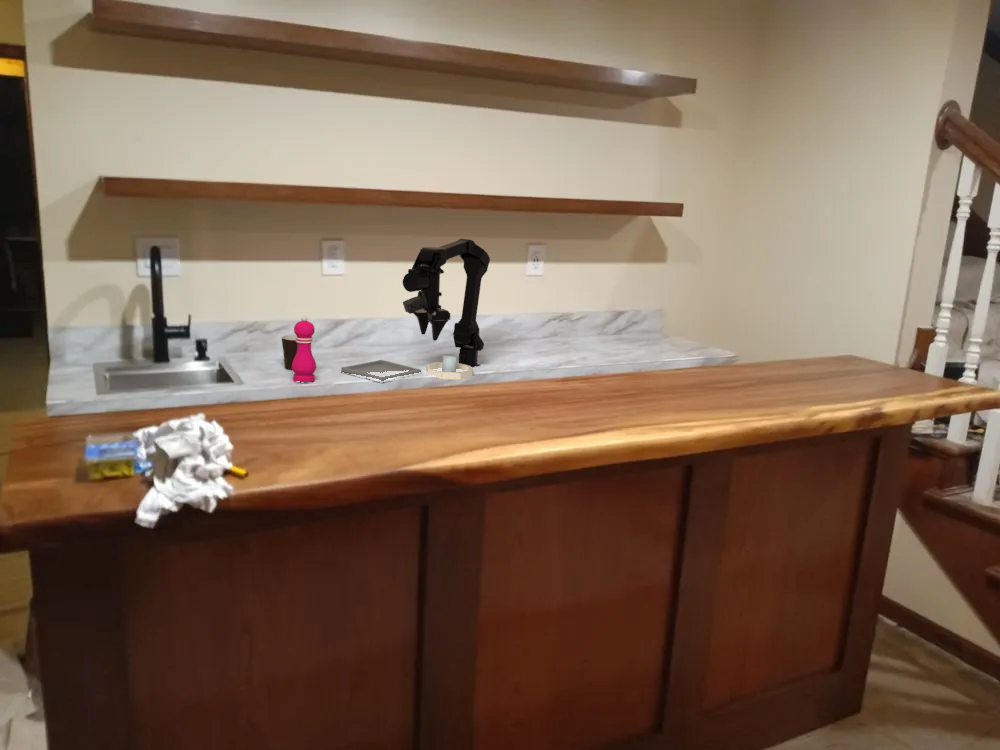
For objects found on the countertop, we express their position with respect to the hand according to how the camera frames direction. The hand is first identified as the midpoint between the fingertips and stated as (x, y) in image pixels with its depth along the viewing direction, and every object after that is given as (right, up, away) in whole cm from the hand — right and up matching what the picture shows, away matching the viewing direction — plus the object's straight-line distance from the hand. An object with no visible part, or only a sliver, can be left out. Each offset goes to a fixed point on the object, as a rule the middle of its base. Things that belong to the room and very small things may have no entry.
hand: (428, 337), depth 252 cm
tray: (-16, -11, +4) cm, 20 cm away
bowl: (+6, -12, +8) cm, 15 cm away
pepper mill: (-37, -14, -12) cm, 41 cm away
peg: (+6, -12, +8) cm, 15 cm away
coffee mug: (-43, -10, +5) cm, 44 cm away
